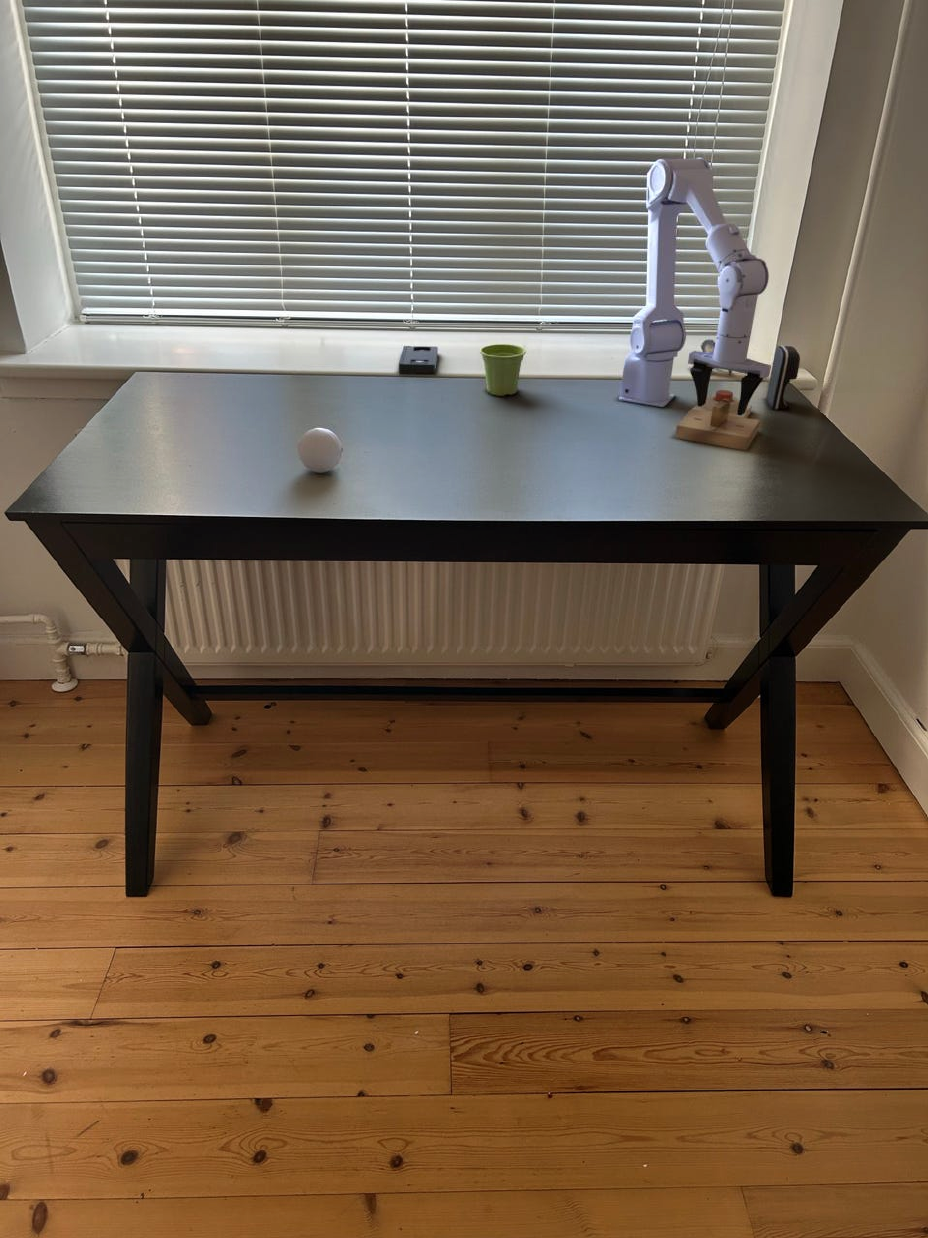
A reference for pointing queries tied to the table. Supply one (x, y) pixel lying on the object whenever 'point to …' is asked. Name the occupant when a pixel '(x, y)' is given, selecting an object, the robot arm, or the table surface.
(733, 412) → the bell block
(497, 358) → the plant pot
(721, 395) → the bell button
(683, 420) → the plate
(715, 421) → the thumb turn
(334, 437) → the white ball
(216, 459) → the table surface
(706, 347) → the eagle figurine
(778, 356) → the battery charger
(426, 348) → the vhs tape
